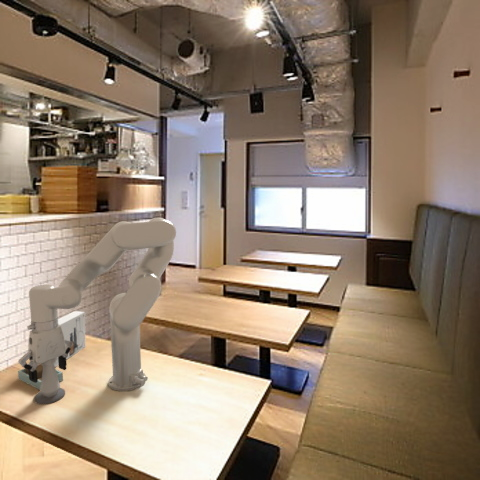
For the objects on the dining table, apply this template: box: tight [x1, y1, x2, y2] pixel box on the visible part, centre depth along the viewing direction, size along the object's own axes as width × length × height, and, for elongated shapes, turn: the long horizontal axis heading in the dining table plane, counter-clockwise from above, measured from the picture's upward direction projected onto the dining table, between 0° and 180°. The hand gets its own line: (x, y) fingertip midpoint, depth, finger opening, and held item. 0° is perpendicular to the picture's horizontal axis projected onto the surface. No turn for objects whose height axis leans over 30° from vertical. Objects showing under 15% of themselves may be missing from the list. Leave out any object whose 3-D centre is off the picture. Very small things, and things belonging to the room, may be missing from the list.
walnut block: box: [26, 363, 43, 380], centre depth 135 cm, size 4×4×5 cm
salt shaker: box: [39, 358, 61, 398], centre depth 122 cm, size 6×6×13 cm
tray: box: [17, 368, 64, 391], centre depth 133 cm, size 14×8×3 cm, turn 58°
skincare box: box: [54, 310, 86, 368], centre depth 150 cm, size 21×5×16 cm, turn 168°
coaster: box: [33, 387, 66, 405], centre depth 123 cm, size 9×9×1 cm
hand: (48, 374), depth 122 cm, fingers open, 9 cm apart
